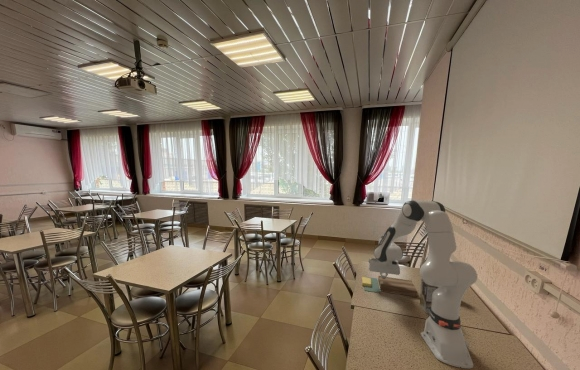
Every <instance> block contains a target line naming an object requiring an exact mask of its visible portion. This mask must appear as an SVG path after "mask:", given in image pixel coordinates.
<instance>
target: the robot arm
mask: <svg viewBox="0 0 580 370" xmlns="http://www.w3.org/2000/svg"><path fill="white" fill-rule="evenodd" d="M420 221H421V222H424V224H425V228H426V233H427V234H426V235H427V239H428V254H427V255H428V256H427V258H426V260H425V261H424V262H423V264H421V266H420V268H419V275H420V278H421V279H422V280H423V281H424V282H425V283H426V284H427V285H431V286H436V287H438V288H437V289H436V290H435V291H434V292H433V294H432V304H431V307H430V314H429V316H428V318H426V319H425V325H424V331H421V332H420V336H421V338H422V339H423V341H424V342H425V343H426V345H427V347H428V349H429V350H430V352H432V354H433V356H434V357H435V358H436V360H438V361H440V362H442V363H444V364H446V365H448V366H449V365H450V366H453V367H457V368H460V367H461V368H460V369H473V368H474V363H473V360H472V357H471V355H470V352H469V349H468V348H470V342H469V341H468V340H465V336H466V334H465V333H464V332H463V330H462V324H461V321H462V320H461V316H460V311H461V304H462V300H463V298H464V296H465V294H466V292H467V291H468V289H469V288H470V287H472V286H473V284H475V283H476V282H477V280H478V273H477V270H476V269H475V268H474V267H473V265H471V264H470V263H467V262H462V261H455V260H454V261H450V259H451V256H452V254H453V253H454V252H455V251H456V250H457V242H456V237H455V234H454V229H453V226H452V222H451V220H450V216H449V215H448V213H446V209H445V206H444V205H443V204H442V203H441V202H439V201H435V200H432V201H431V200H425V199H423V200H422V199H421V200H420V199H418V200H413V199H412V200H408V201H406V202H404V203H403V204H402V207H401V209H400V210H399V212H398V214H397V216H396V218H395V220H394V221H393V223H392V224H391V225H390V226H389V227H388V228H387V229H386V230H385V232H384V234H383V236H381V237H379V240H378V245H376V246H375V248H374V250H373V256H374V257H371V258H369V259H368V271H370V272H375V273H379V276H381V279H386V277H388V276H389V275H396V276H400V274H401V267H400V265H399V261H400V260H401V259H403V256H404V250H403V249H402V247H401V246H399V245H397V244H396V243H395V242H394V241H395V240H396V239H398V238H401V237H404V236H407V235H409V234H412V232H413V231H414V230H415V229H416V226H417V224H418V222H420ZM383 274H384V275H383Z"/></svg>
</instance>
